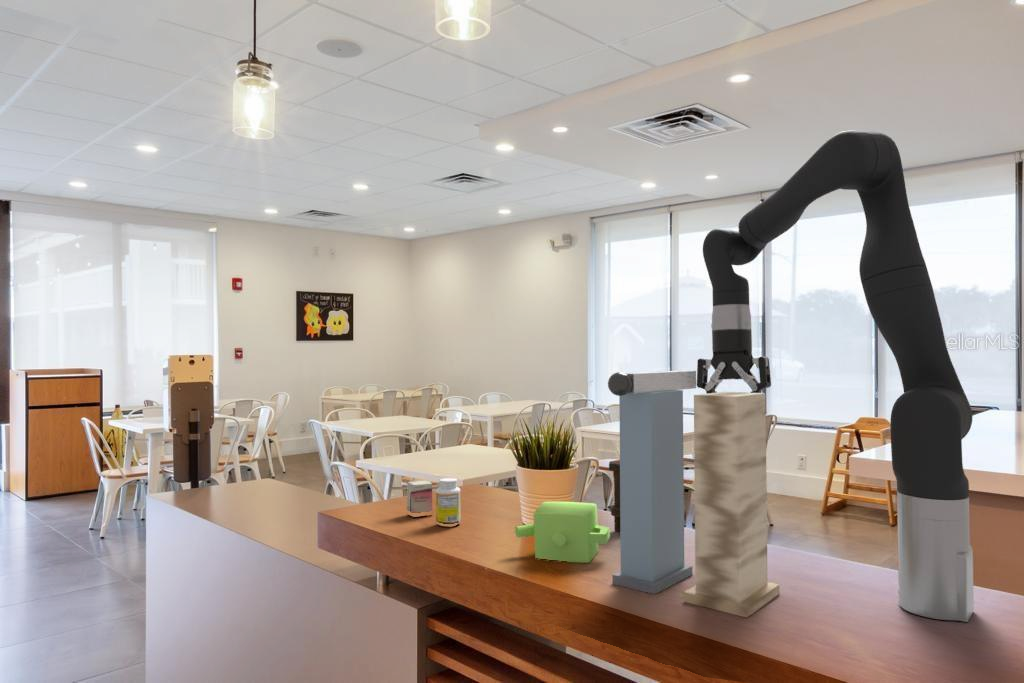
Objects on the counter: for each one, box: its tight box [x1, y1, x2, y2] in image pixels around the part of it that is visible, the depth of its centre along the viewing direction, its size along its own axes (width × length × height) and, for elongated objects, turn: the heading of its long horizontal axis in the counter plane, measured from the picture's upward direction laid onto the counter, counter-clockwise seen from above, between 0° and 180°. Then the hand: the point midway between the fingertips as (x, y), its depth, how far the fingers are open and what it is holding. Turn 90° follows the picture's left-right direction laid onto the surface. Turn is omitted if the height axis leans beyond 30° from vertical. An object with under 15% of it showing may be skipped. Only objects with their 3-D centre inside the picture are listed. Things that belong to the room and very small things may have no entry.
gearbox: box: [514, 501, 611, 564], centre depth 131 cm, size 18×10×10 cm, turn 72°
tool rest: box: [683, 391, 780, 618], centre depth 109 cm, size 10×13×32 cm
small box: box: [406, 480, 433, 513], centre depth 165 cm, size 5×4×8 cm
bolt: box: [608, 459, 620, 533], centre depth 150 cm, size 6×5×15 cm
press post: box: [611, 389, 693, 595], centre depth 118 cm, size 8×13×32 cm, turn 139°
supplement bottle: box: [435, 477, 462, 524], centre depth 156 cm, size 6×6×10 cm
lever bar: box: [607, 370, 697, 397], centre depth 119 cm, size 4×26×4 cm, turn 139°
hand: (733, 410), depth 137 cm, fingers open, 8 cm apart
